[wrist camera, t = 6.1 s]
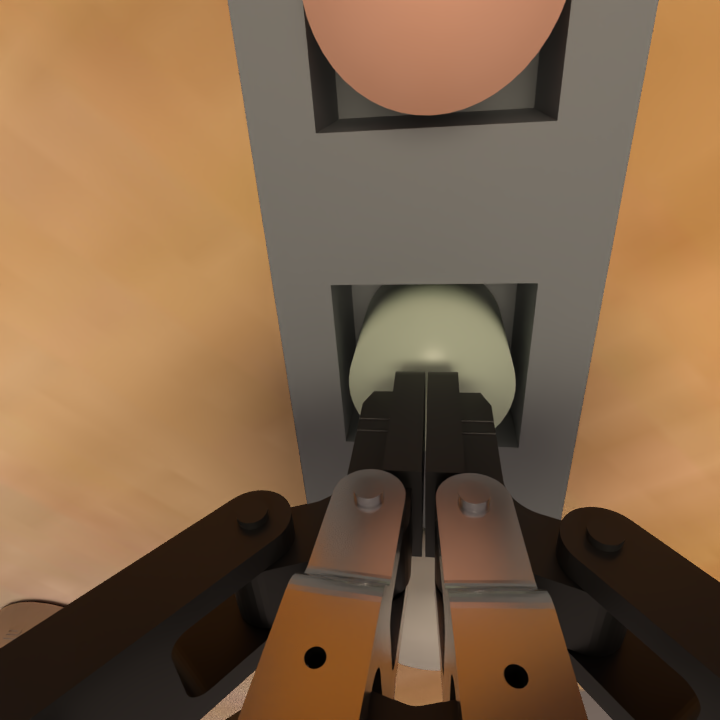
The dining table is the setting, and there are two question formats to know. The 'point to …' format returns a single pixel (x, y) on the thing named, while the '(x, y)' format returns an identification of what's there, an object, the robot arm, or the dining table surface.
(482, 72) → the terracotta button
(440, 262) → the button panel
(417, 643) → the cream button
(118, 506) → the dining table surface
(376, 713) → the robot arm
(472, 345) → the sage button
